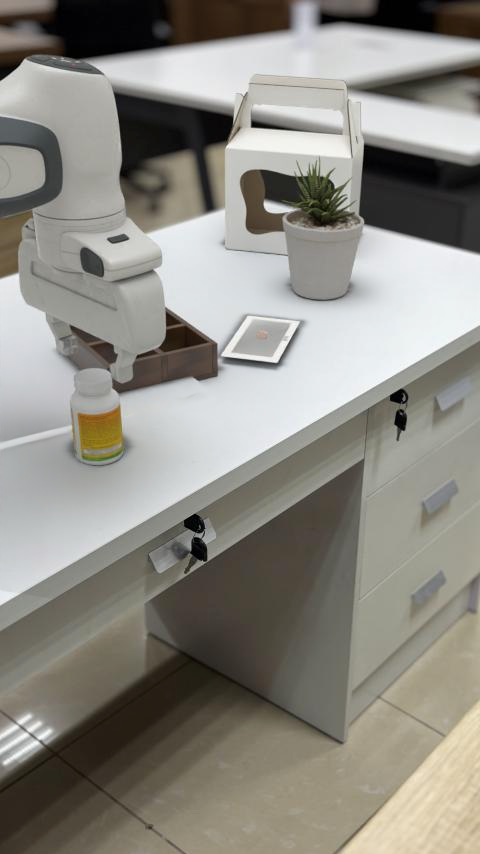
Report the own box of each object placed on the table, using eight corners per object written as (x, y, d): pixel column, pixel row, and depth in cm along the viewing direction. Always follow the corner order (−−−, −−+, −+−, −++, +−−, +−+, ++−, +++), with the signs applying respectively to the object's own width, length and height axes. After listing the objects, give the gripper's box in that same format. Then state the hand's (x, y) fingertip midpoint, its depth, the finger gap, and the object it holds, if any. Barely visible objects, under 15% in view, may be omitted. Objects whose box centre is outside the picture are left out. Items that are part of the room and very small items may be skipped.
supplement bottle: (133, 455, 106) (128, 376, 101) (93, 471, 103) (86, 391, 98) (105, 438, 110) (99, 360, 104) (65, 453, 106) (57, 374, 101)
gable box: (223, 249, 168) (222, 79, 153) (242, 228, 179) (243, 67, 164) (347, 261, 165) (358, 88, 150) (358, 239, 176) (370, 75, 160)
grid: (109, 402, 117) (107, 368, 115) (62, 357, 128) (58, 325, 125) (218, 375, 124) (217, 343, 122) (164, 335, 135) (163, 304, 133)
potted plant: (373, 284, 155) (384, 158, 145) (339, 311, 145) (347, 177, 134) (304, 270, 160) (310, 147, 149) (266, 295, 150) (269, 165, 139)
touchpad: (220, 363, 128) (220, 348, 127) (247, 322, 140) (248, 308, 139) (277, 370, 126) (277, 355, 125) (299, 328, 139) (300, 314, 138)
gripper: (-5, 220, 97) (13, 345, 104) (120, 269, 85) (130, 406, 93) (47, 208, 101) (60, 330, 108) (174, 254, 89) (179, 386, 97)
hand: (94, 365), depth 100 cm, fingers open, 8 cm apart
